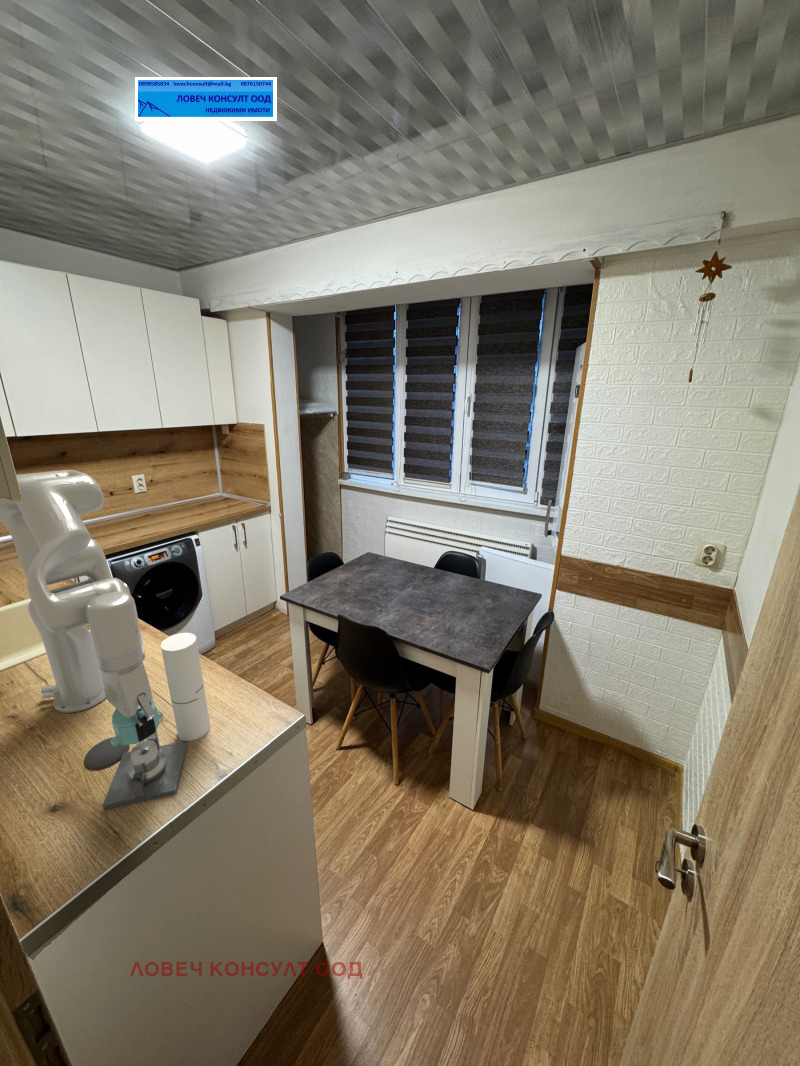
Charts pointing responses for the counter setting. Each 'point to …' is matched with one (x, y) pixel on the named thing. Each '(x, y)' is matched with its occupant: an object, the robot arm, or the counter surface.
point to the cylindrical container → (186, 685)
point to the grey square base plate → (147, 773)
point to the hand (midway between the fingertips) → (137, 726)
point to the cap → (129, 727)
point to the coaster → (104, 754)
